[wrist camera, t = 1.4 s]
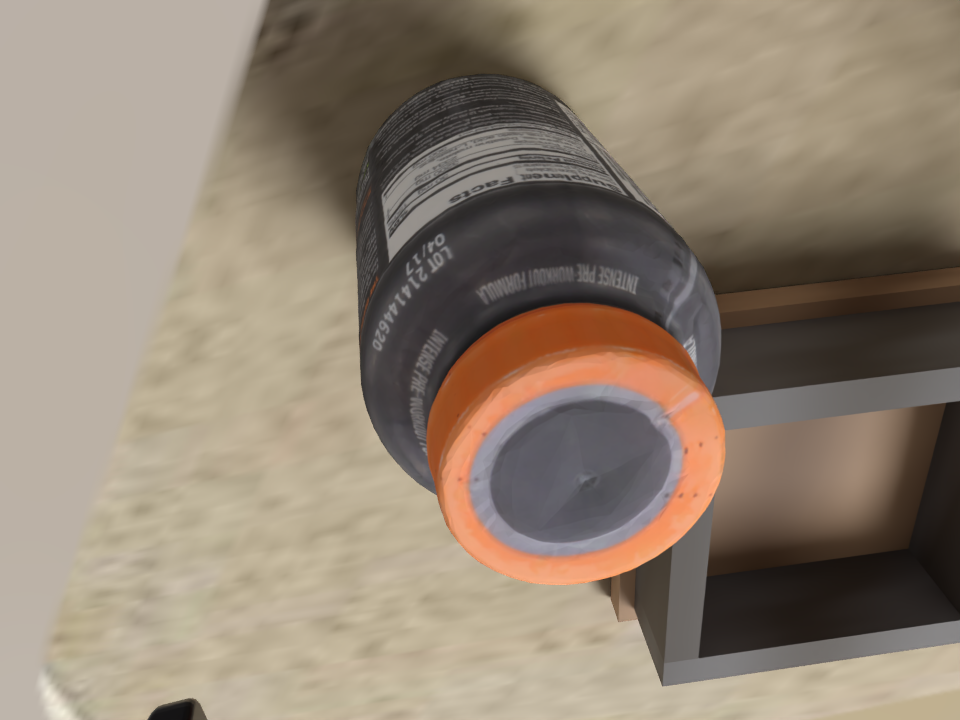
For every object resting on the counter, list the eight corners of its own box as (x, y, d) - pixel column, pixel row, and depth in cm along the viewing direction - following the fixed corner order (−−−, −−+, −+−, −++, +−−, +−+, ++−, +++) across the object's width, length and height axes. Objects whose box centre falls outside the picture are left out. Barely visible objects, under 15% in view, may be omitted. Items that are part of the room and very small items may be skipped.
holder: (1006, 261, 24) (1115, 330, 21) (925, 555, 30) (999, 647, 26) (617, 305, 23) (662, 385, 20) (610, 599, 29) (645, 700, 25)
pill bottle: (535, 331, 23) (662, 676, 14) (322, 259, 21) (295, 599, 12) (641, 125, 21) (891, 370, 11) (410, 24, 19) (468, 211, 9)
